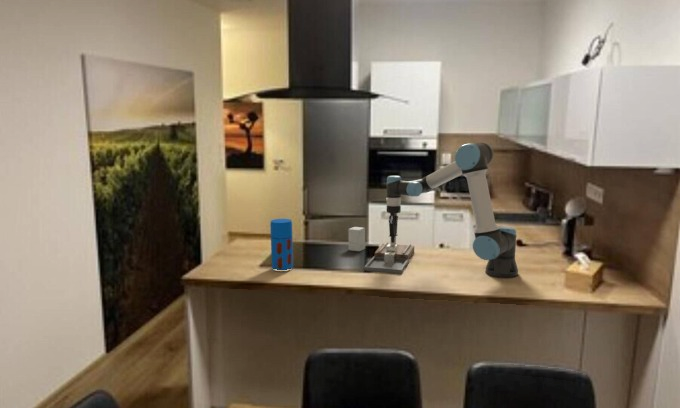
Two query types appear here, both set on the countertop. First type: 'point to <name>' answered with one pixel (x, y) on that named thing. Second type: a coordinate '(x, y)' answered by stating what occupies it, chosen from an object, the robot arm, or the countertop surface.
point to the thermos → (281, 244)
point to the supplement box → (356, 238)
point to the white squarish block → (391, 248)
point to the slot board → (402, 251)
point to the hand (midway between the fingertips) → (393, 247)
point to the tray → (386, 265)
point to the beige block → (389, 257)
